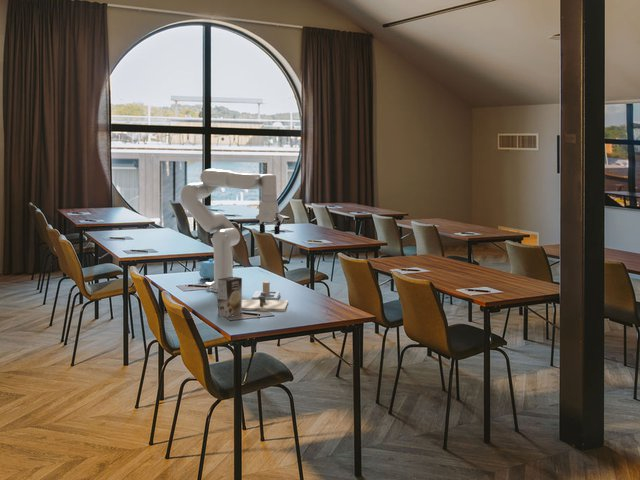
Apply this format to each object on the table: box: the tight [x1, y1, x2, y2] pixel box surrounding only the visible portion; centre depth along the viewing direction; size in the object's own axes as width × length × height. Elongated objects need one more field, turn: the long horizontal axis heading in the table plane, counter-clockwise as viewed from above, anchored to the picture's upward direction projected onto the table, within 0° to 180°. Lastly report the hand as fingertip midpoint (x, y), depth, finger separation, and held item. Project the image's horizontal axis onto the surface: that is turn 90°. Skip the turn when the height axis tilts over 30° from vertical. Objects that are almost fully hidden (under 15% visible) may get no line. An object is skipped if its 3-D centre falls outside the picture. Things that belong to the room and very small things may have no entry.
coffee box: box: [217, 276, 243, 318], centre depth 308 cm, size 9×6×16 cm
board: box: [242, 292, 289, 312], centre depth 325 cm, size 22×18×6 cm
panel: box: [251, 280, 281, 300], centre depth 344 cm, size 12×16×8 cm
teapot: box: [198, 258, 214, 281], centre depth 394 cm, size 15×14×11 cm
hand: (269, 233), depth 349 cm, fingers open, 9 cm apart
